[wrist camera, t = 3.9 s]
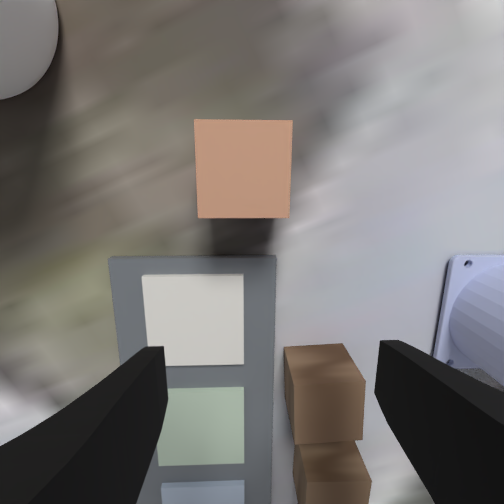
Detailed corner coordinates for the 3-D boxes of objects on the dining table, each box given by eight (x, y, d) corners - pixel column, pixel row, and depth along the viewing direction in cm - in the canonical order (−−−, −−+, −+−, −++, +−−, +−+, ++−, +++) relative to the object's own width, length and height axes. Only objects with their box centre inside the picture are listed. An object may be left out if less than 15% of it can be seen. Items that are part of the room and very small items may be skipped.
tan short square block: (277, 135, 17) (292, 120, 12) (276, 206, 18) (289, 217, 13) (207, 135, 17) (194, 119, 12) (209, 206, 18) (197, 218, 13)
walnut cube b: (349, 428, 22) (371, 480, 19) (343, 470, 23) (364, 529, 20) (295, 428, 22) (307, 482, 18) (292, 471, 23) (303, 531, 19)
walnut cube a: (341, 342, 21) (365, 381, 17) (340, 392, 22) (362, 439, 18) (283, 346, 21) (294, 385, 17) (284, 396, 22) (294, 444, 18)
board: (275, 255, 19) (277, 259, 18) (269, 539, 25) (270, 554, 24) (112, 256, 18) (104, 260, 18) (144, 544, 24) (141, 559, 23)
